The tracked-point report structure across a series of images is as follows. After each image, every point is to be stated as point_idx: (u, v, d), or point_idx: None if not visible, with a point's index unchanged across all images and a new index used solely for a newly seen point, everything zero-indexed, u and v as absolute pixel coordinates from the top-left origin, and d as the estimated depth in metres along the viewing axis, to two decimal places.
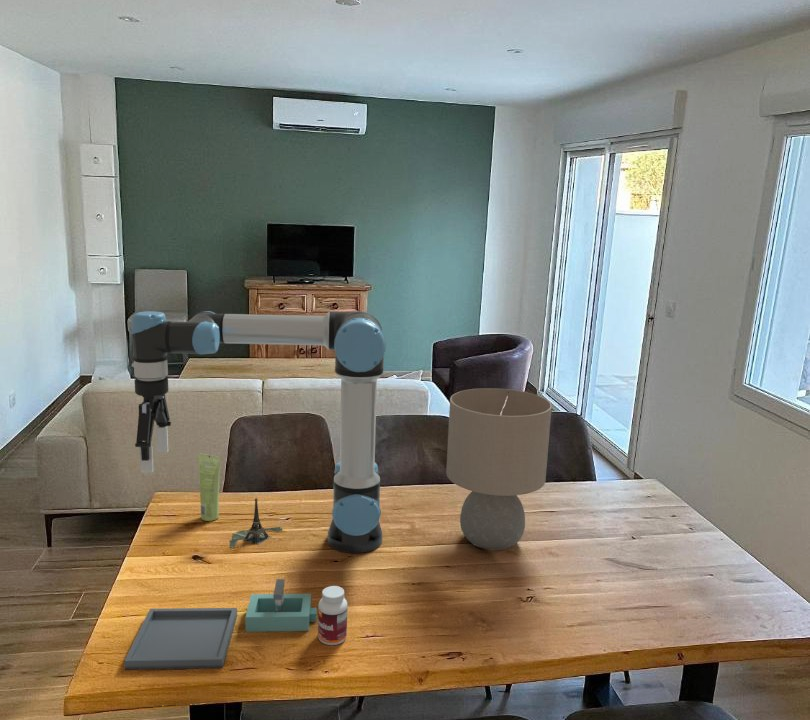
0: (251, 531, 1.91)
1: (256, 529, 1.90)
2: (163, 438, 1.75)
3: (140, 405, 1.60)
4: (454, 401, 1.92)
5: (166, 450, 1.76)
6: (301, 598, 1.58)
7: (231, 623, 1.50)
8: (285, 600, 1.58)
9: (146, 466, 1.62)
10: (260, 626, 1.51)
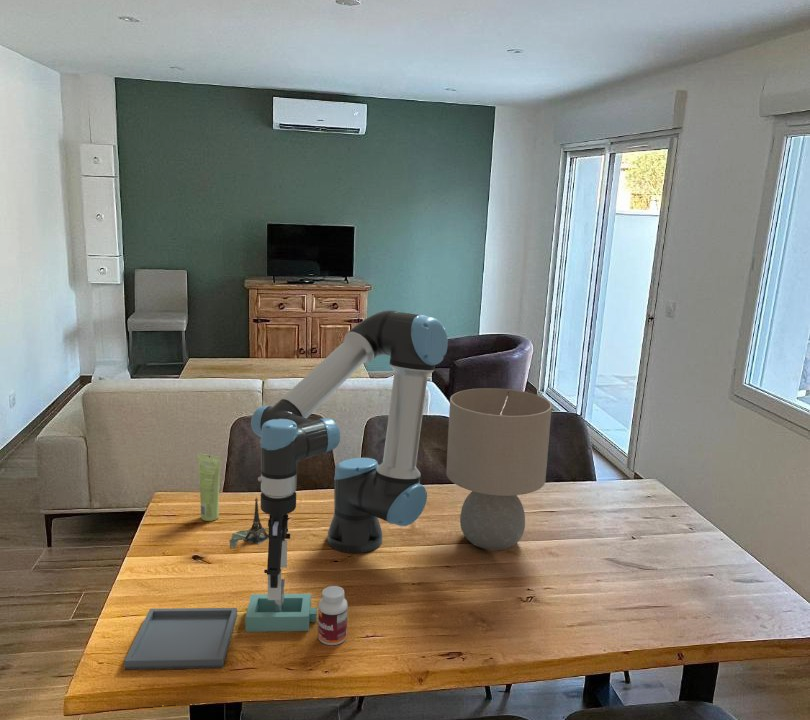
0: (251, 531, 1.91)
1: (256, 529, 1.90)
2: (282, 552, 1.59)
3: (271, 527, 1.43)
4: (454, 401, 1.92)
5: (285, 565, 1.59)
6: (301, 598, 1.58)
7: (231, 623, 1.50)
8: (285, 600, 1.58)
9: (274, 593, 1.46)
10: (260, 626, 1.51)
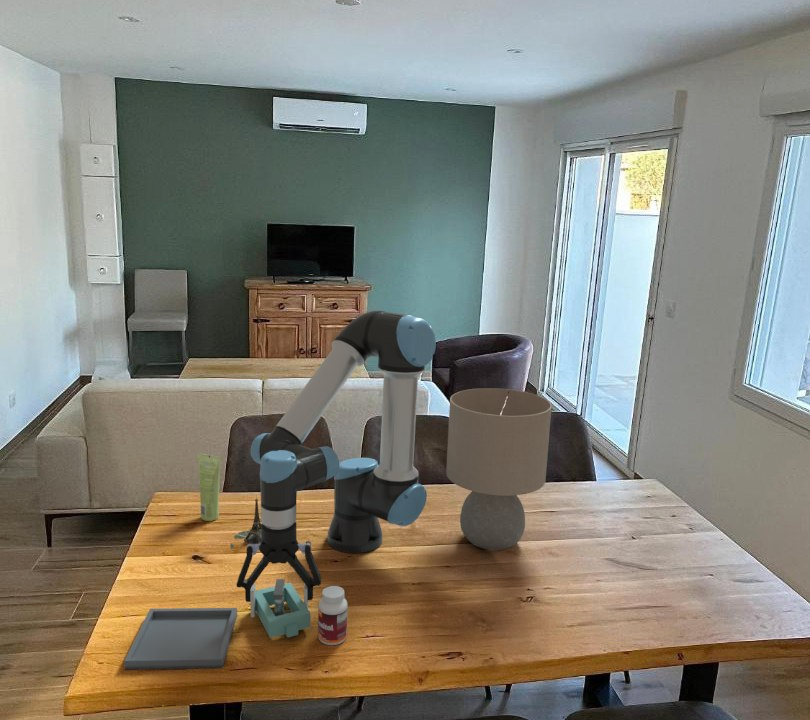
0: (252, 532, 1.90)
1: (257, 530, 1.90)
2: None
3: (248, 544, 1.52)
4: (454, 401, 1.92)
5: None
6: (299, 610, 1.51)
7: (231, 623, 1.50)
8: (294, 603, 1.54)
9: None
10: (256, 607, 1.55)
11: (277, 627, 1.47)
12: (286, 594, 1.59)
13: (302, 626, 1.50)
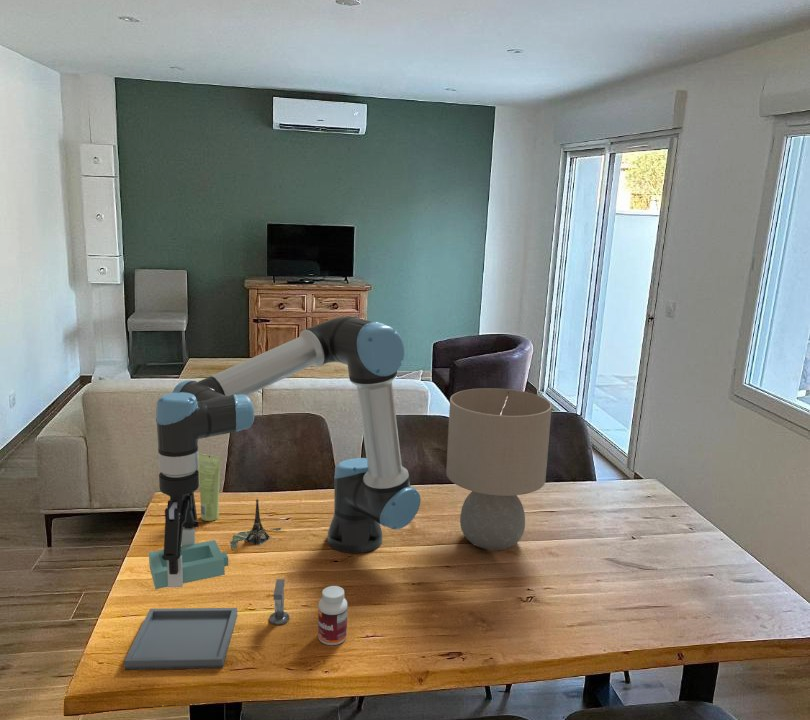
0: (252, 532, 1.90)
1: (257, 530, 1.90)
2: (190, 542, 1.48)
3: (167, 510, 1.33)
4: (454, 401, 1.92)
5: None
6: (206, 546, 1.47)
7: (231, 623, 1.50)
8: (189, 551, 1.46)
9: (174, 580, 1.37)
10: None
11: None
12: (162, 559, 1.44)
13: None
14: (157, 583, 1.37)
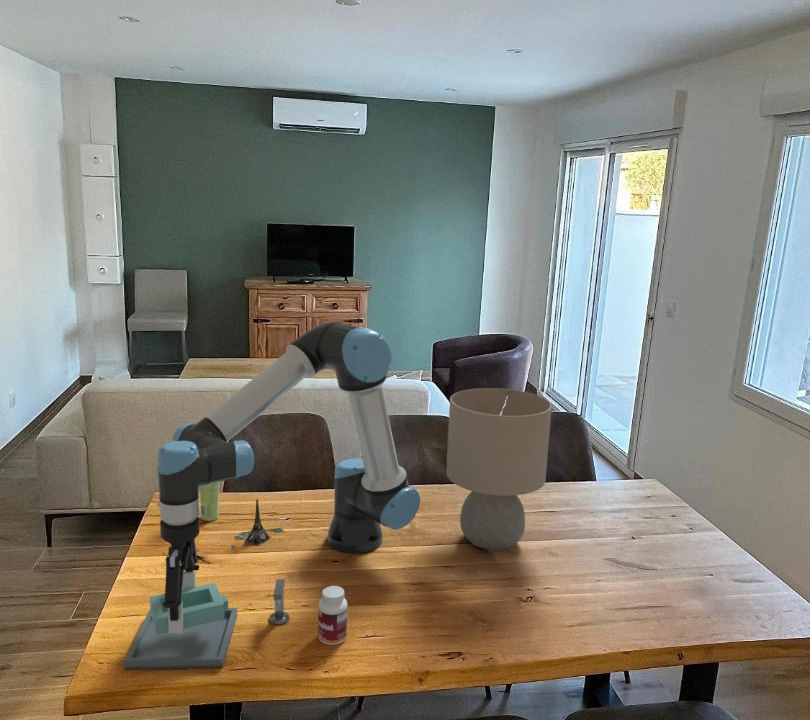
0: (252, 532, 1.90)
1: (257, 530, 1.89)
2: (190, 585, 1.50)
3: (167, 559, 1.35)
4: (454, 401, 1.92)
5: None
6: (207, 589, 1.49)
7: (231, 623, 1.50)
8: (189, 594, 1.48)
9: (175, 626, 1.39)
10: None
11: None
12: None
13: None
14: (158, 629, 1.39)
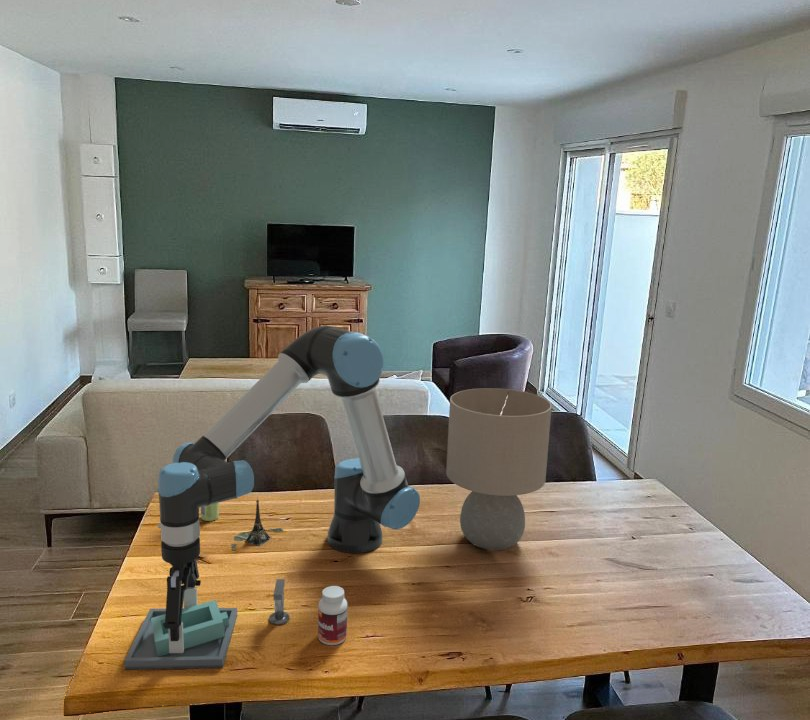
0: (253, 533, 1.90)
1: (258, 531, 1.89)
2: (192, 600, 1.51)
3: (169, 579, 1.36)
4: (454, 401, 1.92)
5: None
6: (207, 607, 1.50)
7: (231, 623, 1.50)
8: (190, 613, 1.49)
9: (175, 646, 1.39)
10: None
11: None
12: None
13: None
14: (159, 651, 1.40)
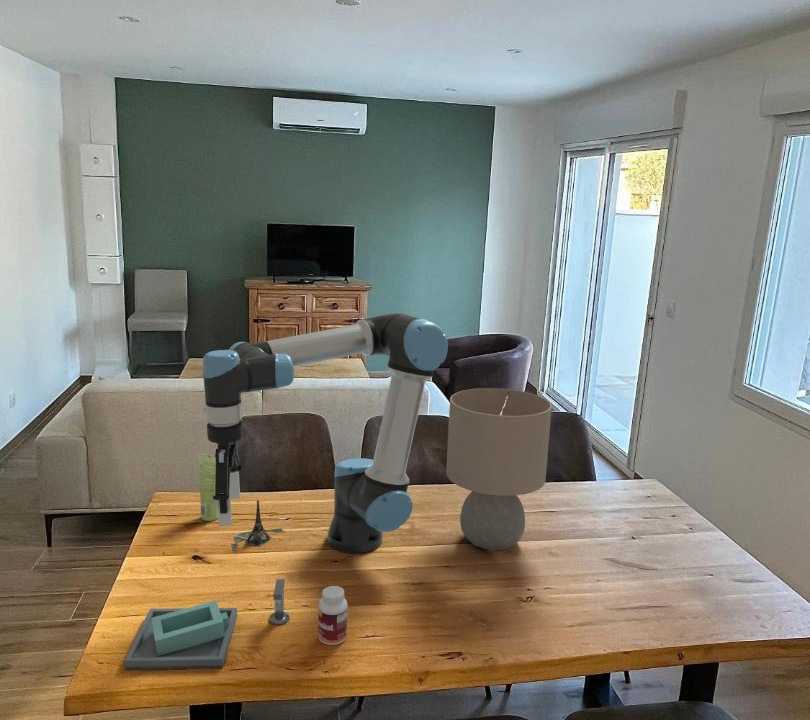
0: (253, 533, 1.89)
1: (258, 531, 1.89)
2: (234, 484, 1.62)
3: (217, 454, 1.46)
4: (454, 401, 1.92)
5: (238, 496, 1.63)
6: (207, 607, 1.50)
7: (231, 623, 1.50)
8: (190, 614, 1.49)
9: (224, 519, 1.49)
10: (173, 646, 1.41)
11: None
12: (164, 624, 1.47)
13: None
14: (159, 650, 1.40)
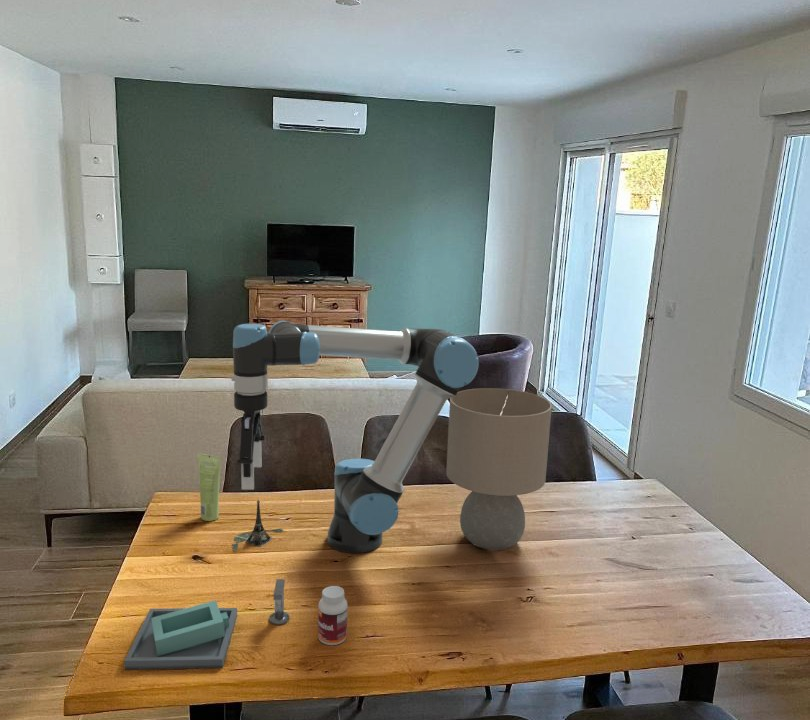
0: (253, 533, 1.89)
1: (258, 531, 1.89)
2: (257, 453, 1.71)
3: (243, 420, 1.55)
4: (454, 401, 1.92)
5: (260, 465, 1.72)
6: (207, 607, 1.50)
7: (231, 623, 1.50)
8: (190, 614, 1.49)
9: (247, 483, 1.58)
10: (173, 646, 1.41)
11: None
12: (164, 624, 1.47)
13: None
14: (159, 650, 1.40)
